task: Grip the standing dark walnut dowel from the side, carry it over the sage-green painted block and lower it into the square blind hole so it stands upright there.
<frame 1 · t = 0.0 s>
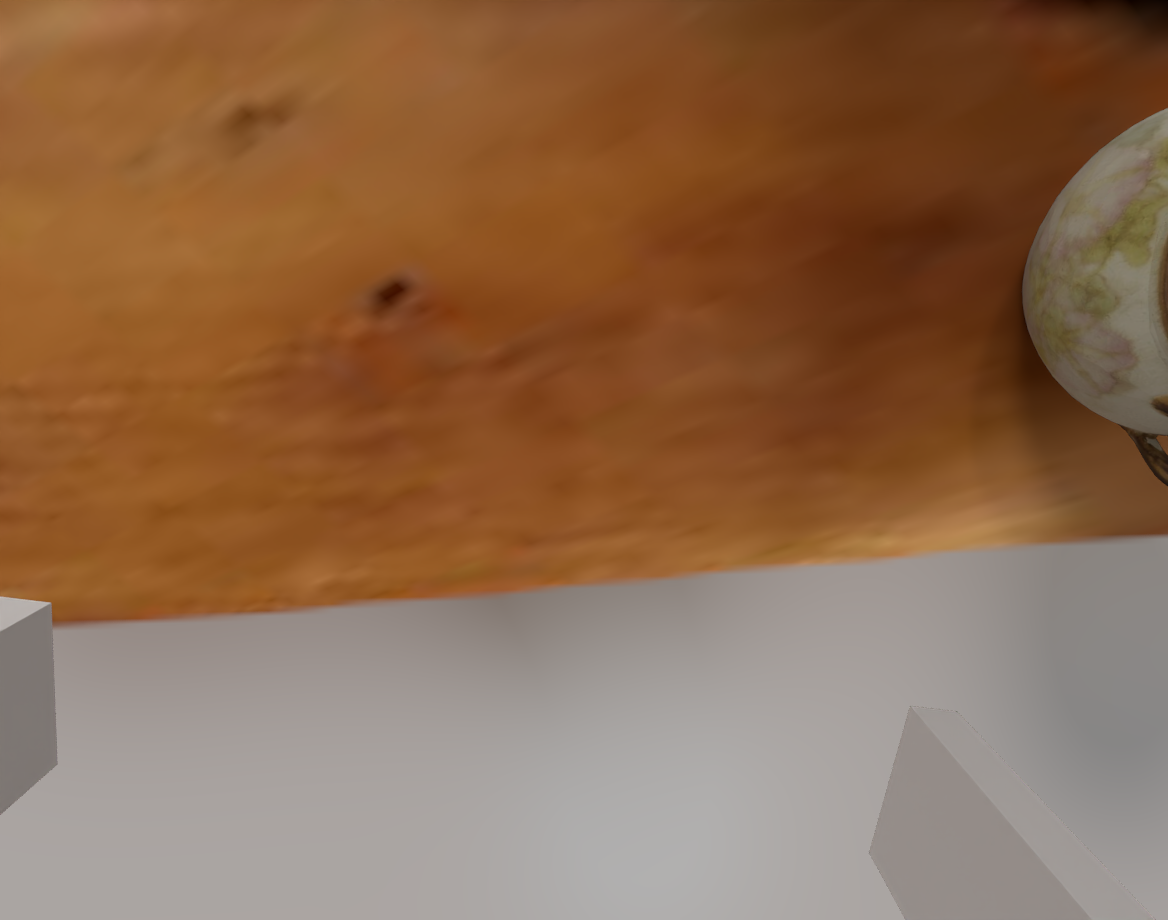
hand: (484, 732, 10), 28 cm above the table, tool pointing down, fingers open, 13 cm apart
sugar bowl: (1095, 277, 36), on the table
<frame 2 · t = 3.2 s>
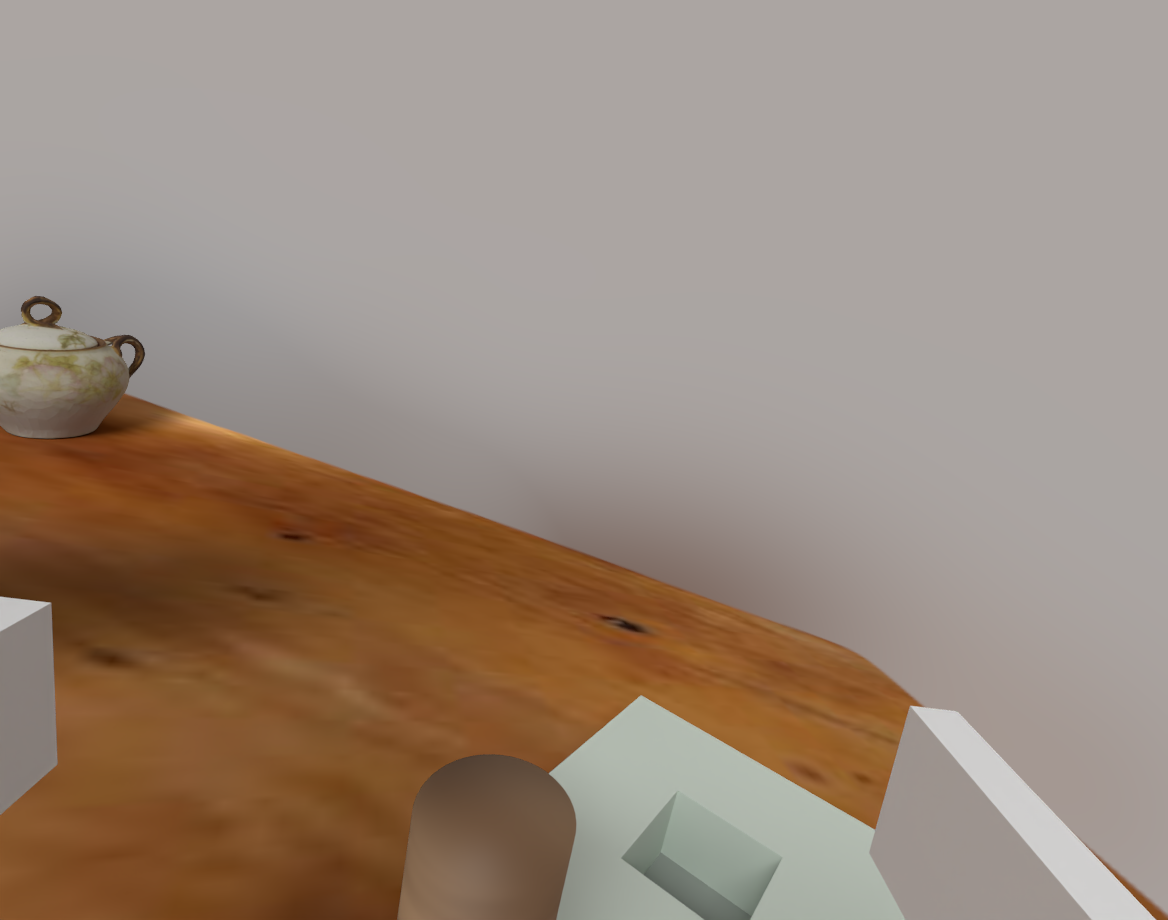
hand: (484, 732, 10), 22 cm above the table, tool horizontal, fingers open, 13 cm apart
sugar bowl: (50, 429, 76), on the table
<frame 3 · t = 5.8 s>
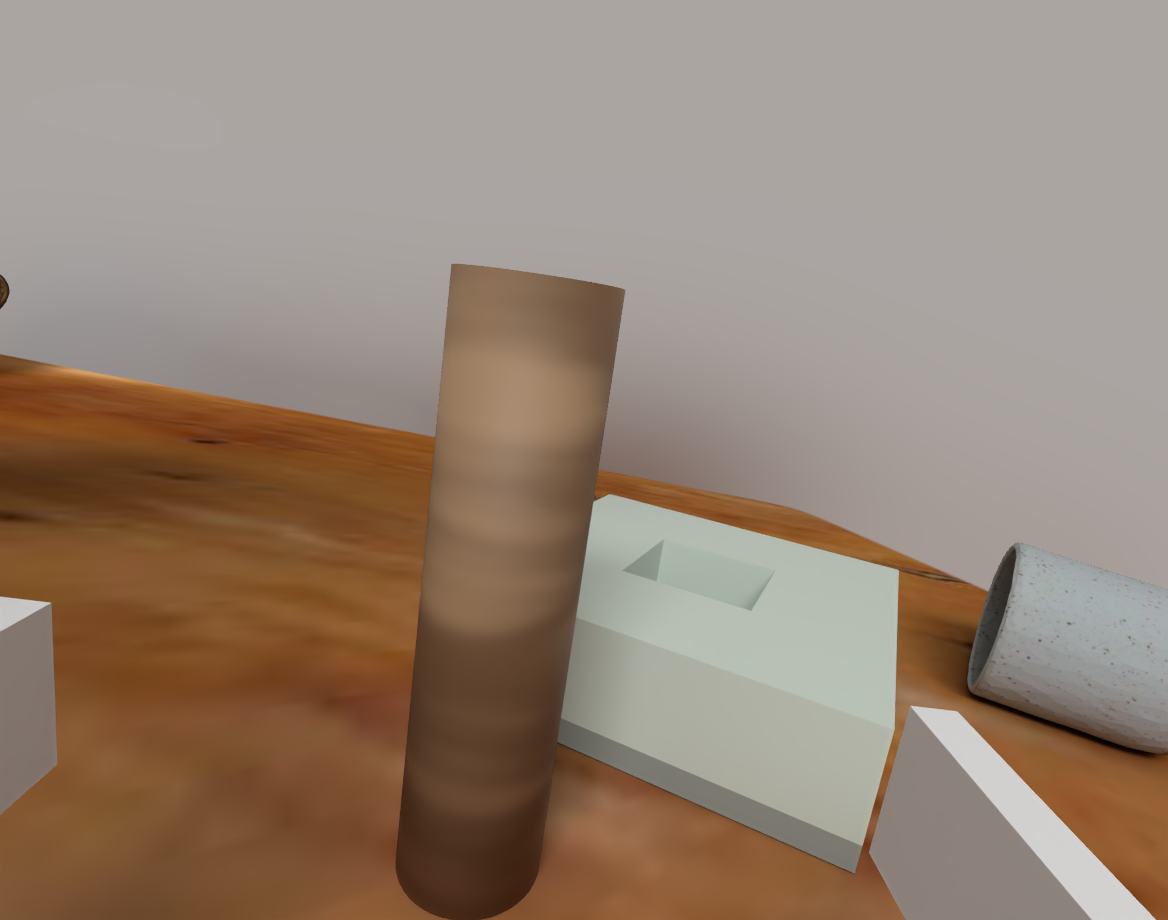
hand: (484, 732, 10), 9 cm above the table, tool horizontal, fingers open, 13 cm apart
ceramic mug: (1048, 706, 33), on the table
socket block: (682, 671, 30), on the table
dowel: (468, 856, 19), on the table
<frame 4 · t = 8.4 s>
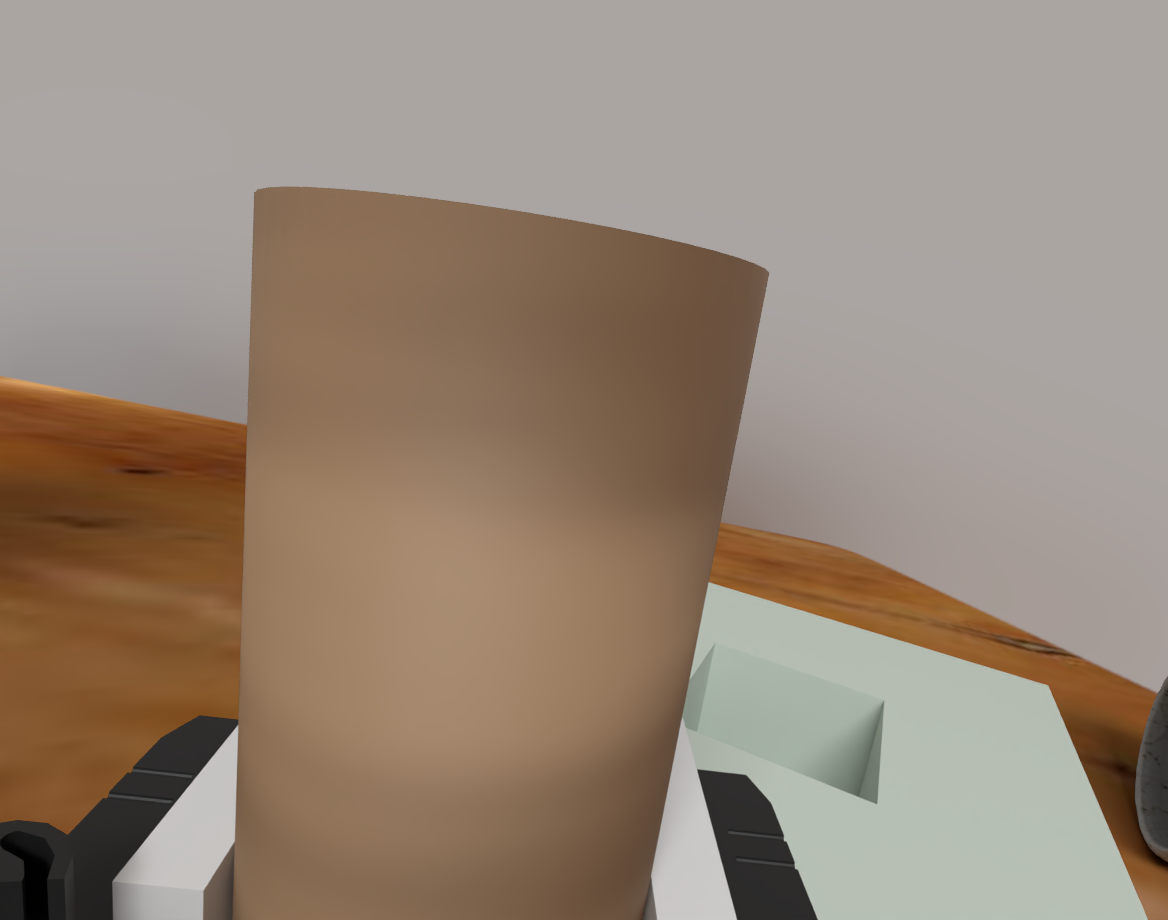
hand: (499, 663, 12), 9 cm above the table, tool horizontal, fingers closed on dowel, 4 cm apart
socket block: (748, 850, 21), on the table
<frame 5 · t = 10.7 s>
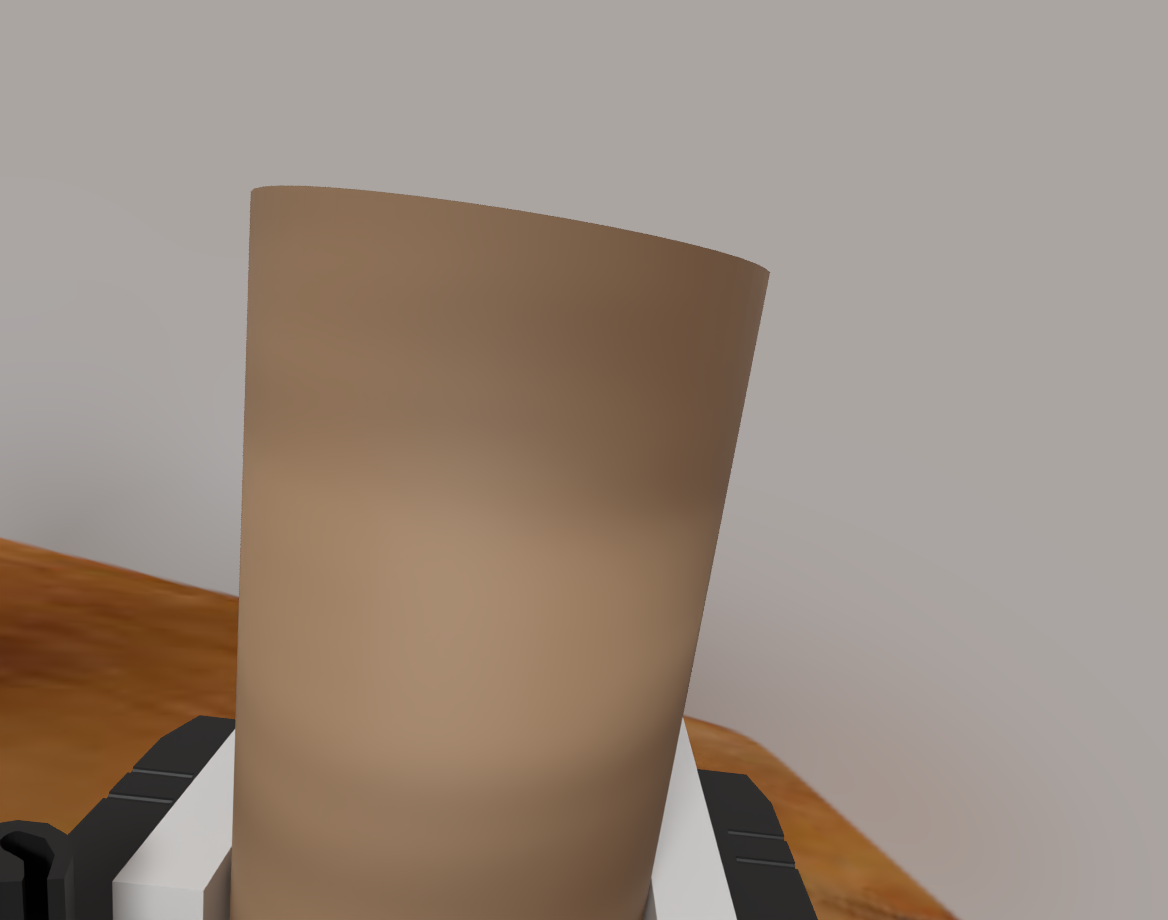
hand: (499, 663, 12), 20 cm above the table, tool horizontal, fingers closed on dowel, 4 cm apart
when the fingers open (11 cm above the table, at t = 13.2 s): dowel stays where it is, resting on socket block.
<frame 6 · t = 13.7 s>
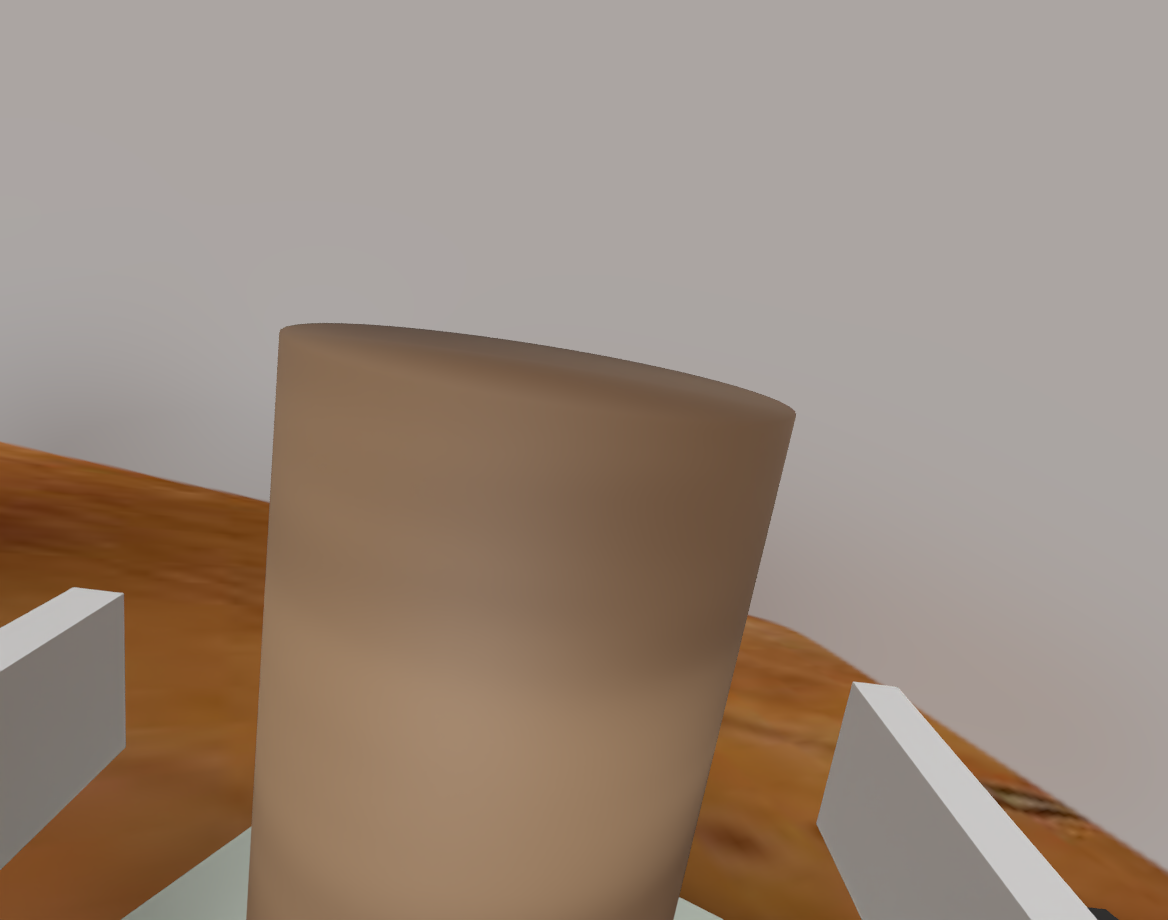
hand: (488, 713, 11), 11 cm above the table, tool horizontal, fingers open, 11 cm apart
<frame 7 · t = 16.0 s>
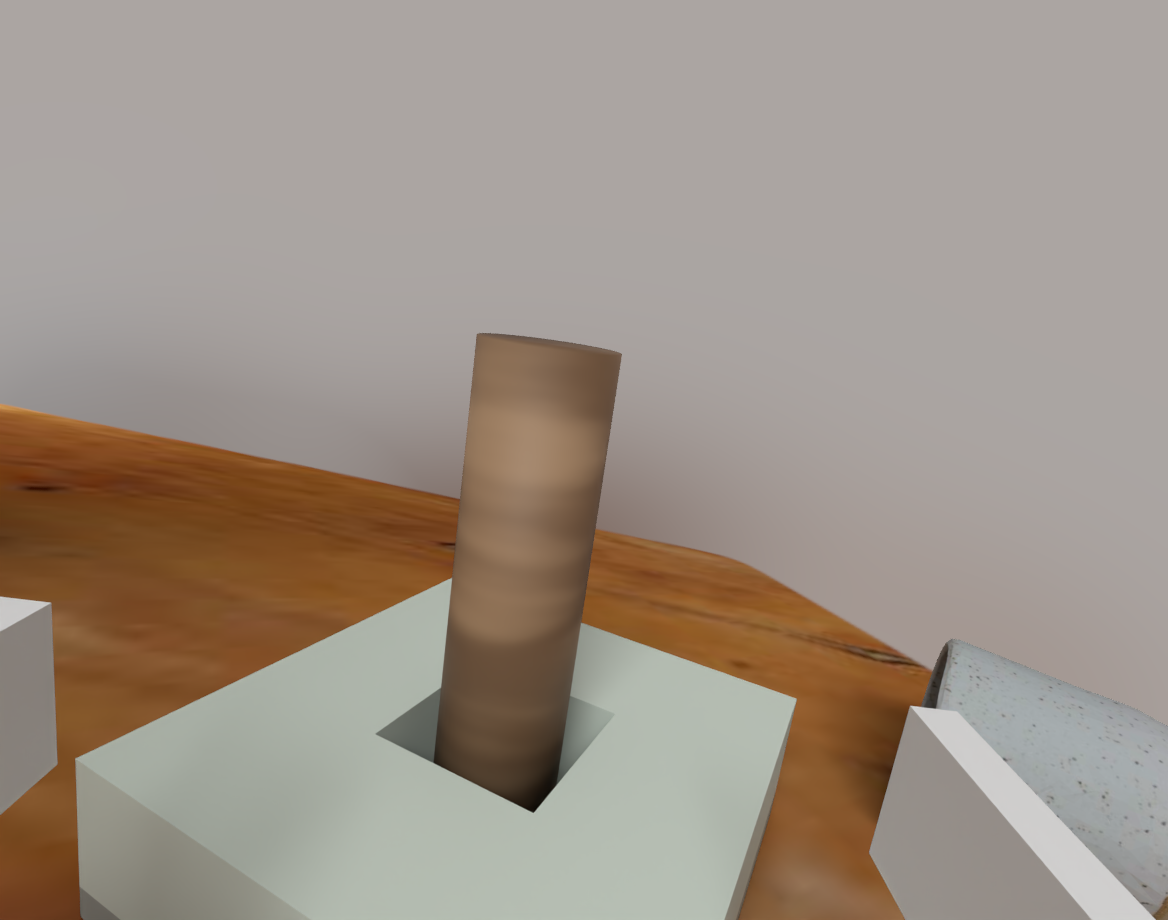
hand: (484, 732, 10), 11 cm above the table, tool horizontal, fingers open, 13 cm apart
ceramic mug: (994, 838, 27), on the table
socket block: (486, 855, 22), on the table
dowel: (488, 830, 22), point 1 cm above the table, touching socket block
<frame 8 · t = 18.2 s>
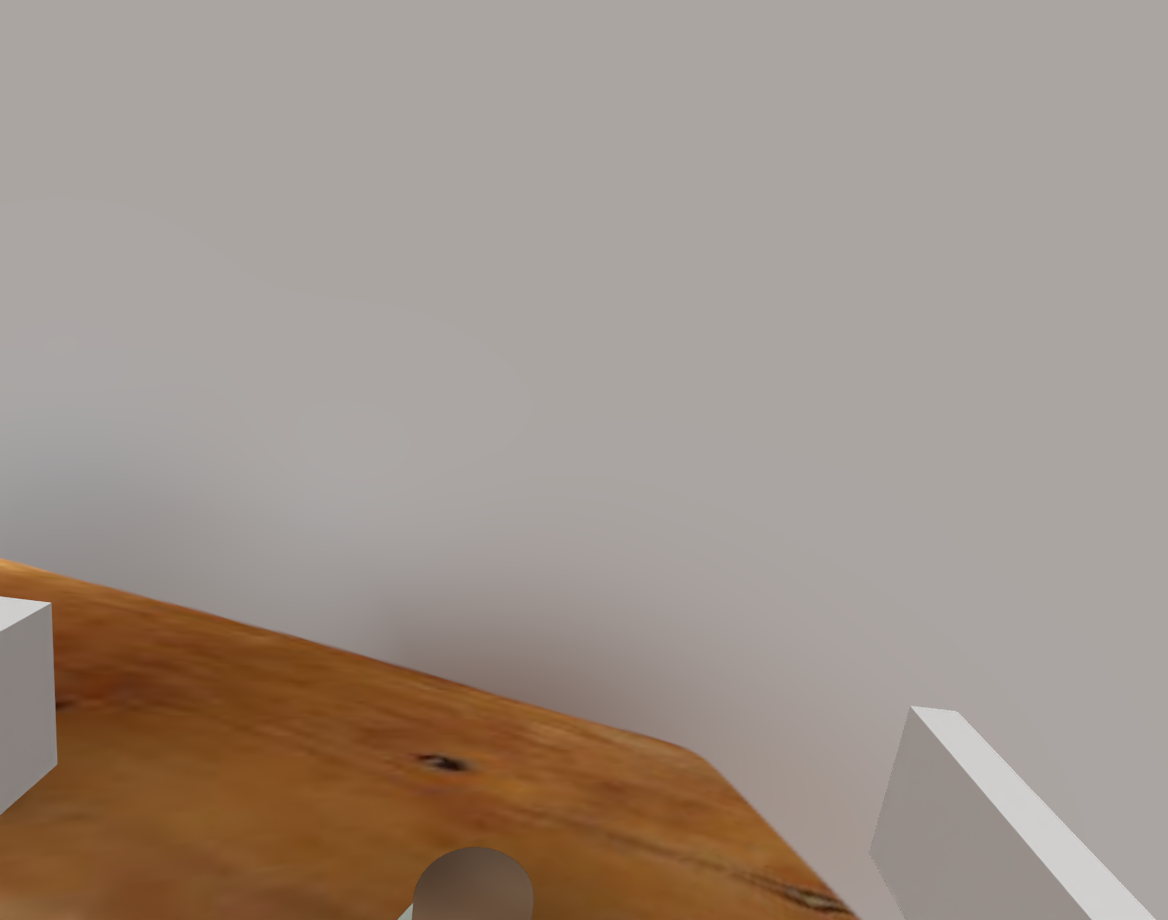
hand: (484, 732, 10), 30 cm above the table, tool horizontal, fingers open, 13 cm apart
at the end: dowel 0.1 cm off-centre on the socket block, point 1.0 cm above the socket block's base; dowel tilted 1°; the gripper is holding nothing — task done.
